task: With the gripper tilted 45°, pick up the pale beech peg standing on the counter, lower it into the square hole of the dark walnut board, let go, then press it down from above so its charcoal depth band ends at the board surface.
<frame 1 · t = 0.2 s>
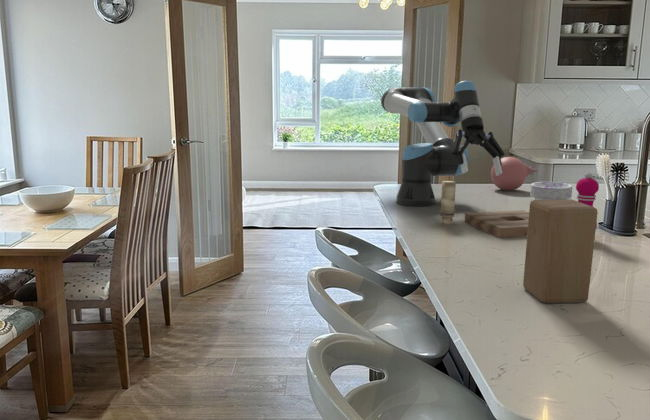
hand: (482, 173, 188), 15 cm above the kitchen island, tool tilted 35°, fingers open, 13 cm apart
walnut board: (511, 227, 175), on the kitchen island
beech peg: (446, 223, 180), on the kitchen island
paper bowls: (549, 204, 215), on the kitchen island
balloon: (512, 191, 245), on the kitchen island
pepper mill: (581, 240, 160), on the kitchen island
wooden block: (553, 296, 114), on the kitchen island
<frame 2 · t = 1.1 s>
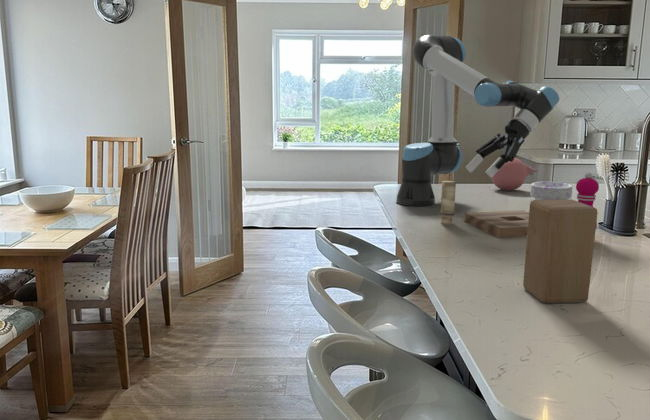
hand: (477, 172, 179), 17 cm above the kitchen island, tool tilted 45°, fingers open, 13 cm apart
nothing on the kitchen island moved.
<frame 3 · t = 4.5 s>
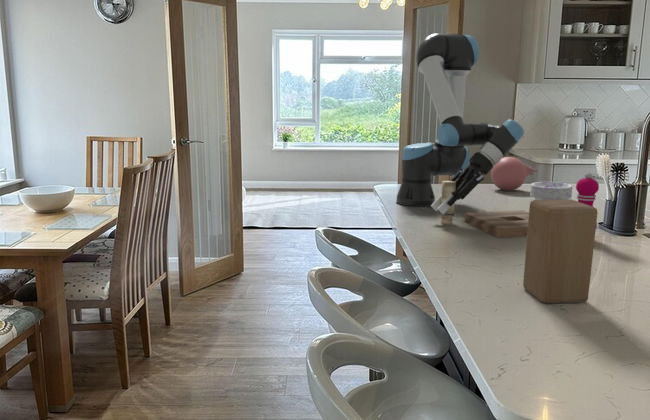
hand: (437, 209, 178), 5 cm above the kitchen island, tool tilted 45°, fingers closed on beech peg, 4 cm apart
beech peg: (446, 223, 180), on the kitchen island, touching gripper
everything else where it was.
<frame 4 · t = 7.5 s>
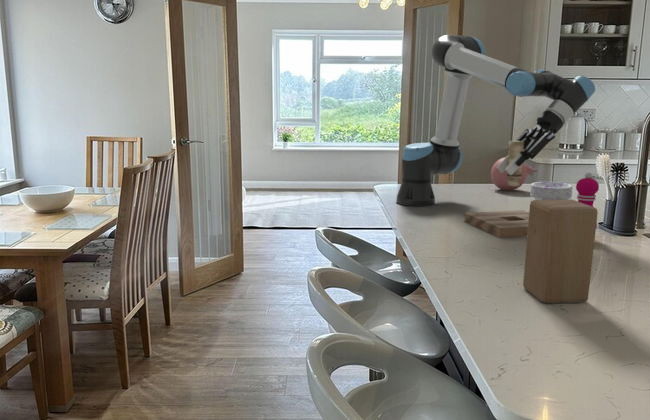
hand: (503, 171, 170), 19 cm above the kitchen island, tool tilted 45°, fingers closed on beech peg, 4 cm apart
beech peg: (513, 185, 172), point 14 cm above the kitchen island, touching gripper
everything else where it was.
when the fingers open (7 cm above the kitchen island, at t = 10.6 s): beech peg drops 2 cm, resting in walnut board.
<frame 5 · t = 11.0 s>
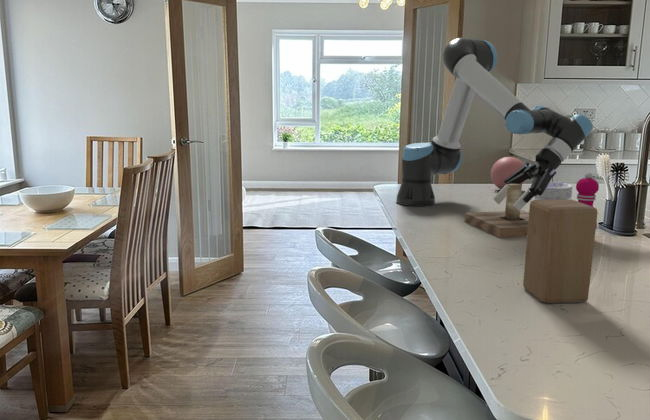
hand: (505, 204, 172), 8 cm above the kitchen island, tool tilted 45°, fingers open, 11 cm apart
beech peg: (511, 227, 175), resting in walnut board
everything else where it was.
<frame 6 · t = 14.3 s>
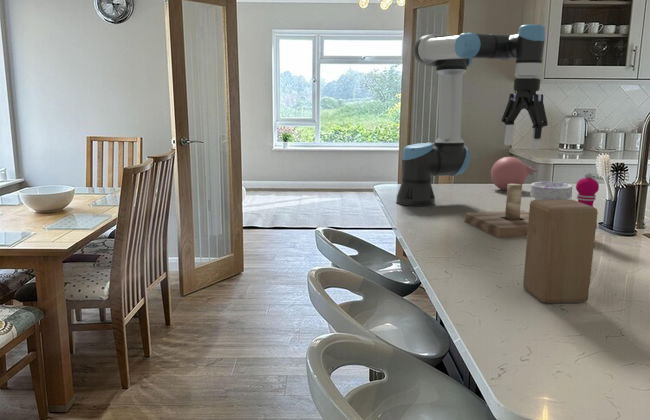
hand: (520, 147, 170), 26 cm above the kitchen island, tool pointing down, fingers open, 13 cm apart
nothing on the kitchen island moved.
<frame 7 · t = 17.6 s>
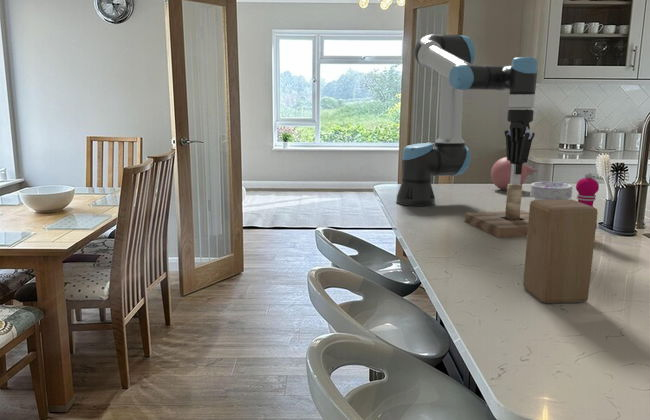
hand: (515, 184, 172), 14 cm above the kitchen island, tool pointing down, fingers closed
beech peg: (511, 227, 175), resting in walnut board, touching gripper
everything else where it was.
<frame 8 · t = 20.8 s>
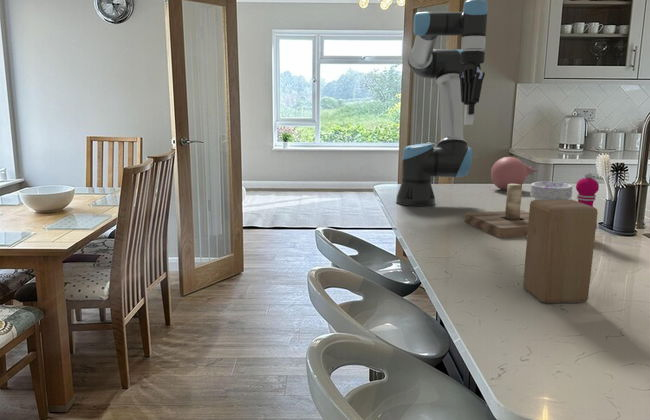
hand: (468, 124, 179), 32 cm above the kitchen island, tool pointing down, fingers closed
beech peg: (511, 227, 175), resting in walnut board
everything else where it was.
at the end: beech peg 0.1 cm from the walnut board (horizontally); beech peg resting in walnut board; beech peg tilted 0° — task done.
